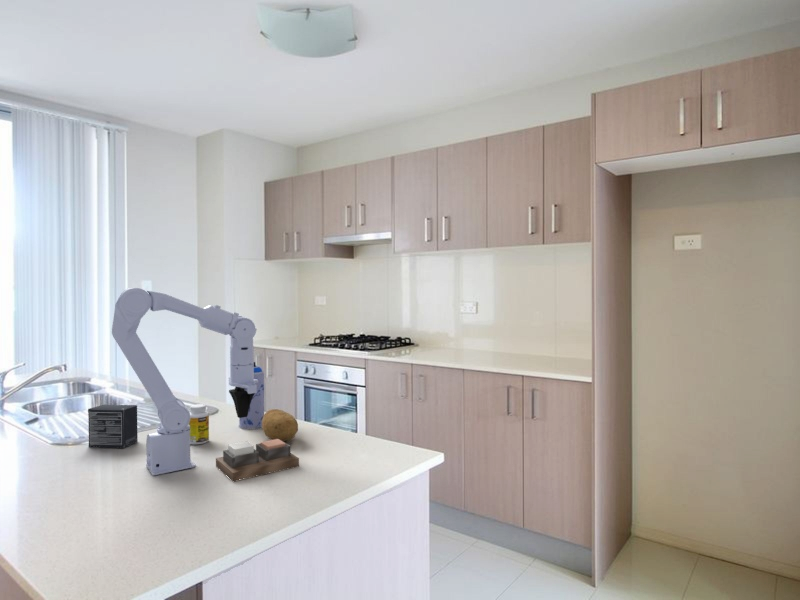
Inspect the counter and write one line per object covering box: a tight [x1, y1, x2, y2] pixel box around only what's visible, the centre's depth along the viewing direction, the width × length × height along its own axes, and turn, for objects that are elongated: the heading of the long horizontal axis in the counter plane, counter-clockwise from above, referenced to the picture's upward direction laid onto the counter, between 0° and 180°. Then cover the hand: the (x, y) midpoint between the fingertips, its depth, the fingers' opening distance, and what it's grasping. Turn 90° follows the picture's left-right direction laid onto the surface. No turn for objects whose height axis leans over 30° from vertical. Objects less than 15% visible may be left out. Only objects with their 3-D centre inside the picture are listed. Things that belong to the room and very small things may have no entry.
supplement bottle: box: [188, 403, 210, 445], centre depth 140 cm, size 6×6×10 cm
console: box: [215, 441, 300, 482], centre depth 121 cm, size 16×12×4 cm
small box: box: [87, 404, 138, 449], centre depth 138 cm, size 11×6×10 cm, turn 84°
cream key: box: [227, 440, 255, 457], centre depth 119 cm, size 4×4×2 cm
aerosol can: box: [238, 361, 265, 430], centre depth 156 cm, size 8×8×20 cm
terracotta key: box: [260, 439, 287, 450], centre depth 124 cm, size 4×4×2 cm
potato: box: [261, 408, 299, 442], centre depth 142 cm, size 10×14×8 cm
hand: (242, 416), depth 129 cm, fingers closed
